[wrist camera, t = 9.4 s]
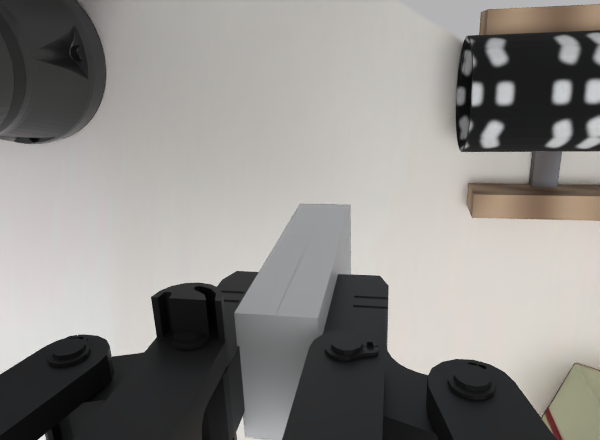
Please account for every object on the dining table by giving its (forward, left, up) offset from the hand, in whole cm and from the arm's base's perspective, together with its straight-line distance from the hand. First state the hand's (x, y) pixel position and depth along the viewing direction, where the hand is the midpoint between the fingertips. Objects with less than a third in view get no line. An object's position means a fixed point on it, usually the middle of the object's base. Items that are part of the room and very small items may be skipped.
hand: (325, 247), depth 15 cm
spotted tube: (+4, +6, -26) cm, 27 cm away
